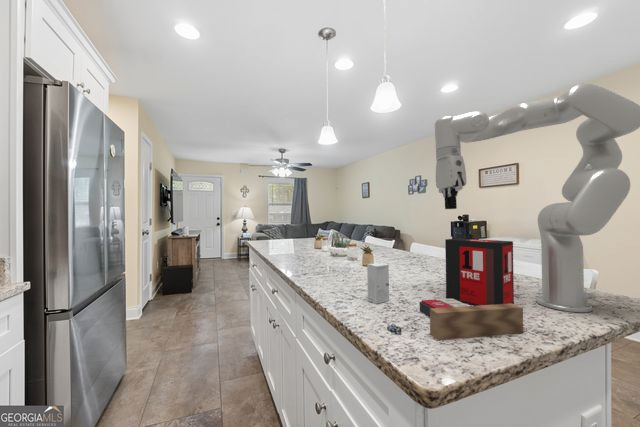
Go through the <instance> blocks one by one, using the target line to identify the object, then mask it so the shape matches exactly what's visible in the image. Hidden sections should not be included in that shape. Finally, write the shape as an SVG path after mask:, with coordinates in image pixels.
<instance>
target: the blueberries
mask: <svg viewBox="0 0 640 427" xmlns="http://www.w3.org/2000/svg"><path fill="white" fill-rule="evenodd" d="M386 330H387V331H388V332H390V333H393V334H394V335H397V336H401V335H402V327H401V326H397V325H396V324H395V323H392V324H389V325H388V326H387V328H386ZM406 330H407V331H406V332H407V333H408V332H409V331H408V330H409V329H408V328H406Z"/></svg>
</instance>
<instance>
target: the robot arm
mask: <svg viewBox="0 0 640 427" xmlns="http://www.w3.org/2000/svg"><path fill="white" fill-rule="evenodd" d="M582 116H584V117H586V118H587V119H585V120H584V121H582V122H581V123H580V124H579V125H578V127H577V128H576V134H575V136H576V139H577V141H578V143H579V144H580V146H581V148H582V152H583V153H582V157H581V159H580V160H579V162H578V163H577V165H576V167H575V168H574V169H573V171H572V172H571V174H570V175H569V176H568V178H567V179H566V181H565V182H564V184H563V185H562V189H561V194H562V197H563V198H564V199H565V200H566V201H567V202H557V203H552V204H548V205H546V206H544V207H543V208H542V209H541V210H540V211H539V213H538V215H537V226H538V231H539V235H540V242H541V243H540V244H541V245H540V246H541V254H540V255H541V294H542V295H538V296H537V297H535V302H537V304H539V305H541V306H544V307H547V308H550V309H554V310H559V311H565V312H570V313H571V312H573V313H589V312H592V310H593V306H592V305H591V304H590V303H587V300H594V299H596V298H597V296H596V294H595V293H594V292H586V291H585V278H584V277H585V275H584V274H585V270H584V269H585V268H584V245H583V242H582V240H581V237H582V236H583V237H584V236H591V235H594V234H597V233H598V232H600V231H601V230H602V229H604V227H606V226H607V224H608V223H609V221H610V220H611V219H612V217H613V216H614V215H615V214H616V212H617V210H618V209H619V208H620V206H621V205H622V204H623V203H624V202H625V200H626V199H627V197H628V195H629V193H630V190H631V179H630V177H629V175H628V174H627V173H626V171H623V170H622V169H619V167H620V166H621V164H622V161H623V153H622V150H621V148H620V146H619V143H617V142H618V141H616V139H617V138H620V137H623V136H626V135H629V134H631V133H633V132H635V131H637V130H639V129H640V104H638V103H637V102H635V101H633V100H631V99H629V98H626V97H624V96H622V95H621V94H618V93H615V92H613V91H612V90H609V89H606V88H605V87H602V86H599V85H597V84H593V83H585V82H584V83H579V84H576V85H573V86H572V87H570V88H568V89H566V91H564V92H563V93H562V94H560V95H559V94H558V95H556V96H552V97H546V98H541V99H536V100H531V101H526V102H521V103H518V104H517V103H516V104H515V105H513V106H511V107H508V108H506V109H505V110H503V111H501V112H500V113H497V114H494V115H492V116H489V115H488V114H487V113H486V112H484V111H481V110H476V111H475V110H474V111H469V112H466V113H463V114H459V115H446V116H443V117H440V118H438V119H437V120H435V122H434V139H435V140H434V142H435V157H436V158H435V161H436V164H435V186H436V189H438V193H440V194H442V196H443V198H444V209H445V210H457V209H458V206H457V197H458V194H459V192H460V191H462V190H463V187H465V186H466V185H467V171H466V164H465V161H464V158H463V156H462V150H461V149H462V148H461V143H465V144H468V143H476V142H481V141H486V140H490V139H494V138H497V137H499V138H500V137H502V136H507V135H510V134H515V133H518V132H523V131H528V130H532V129H539V128H545V127H549V126H550V127H551V126H557V125H561V124H566V123H569V122H571V121H574V120H576V119H578V118H579V117H582ZM580 236H581V237H580Z"/></svg>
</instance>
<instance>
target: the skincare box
mask: <svg viewBox="0 0 640 427" xmlns="http://www.w3.org/2000/svg"><path fill="white" fill-rule="evenodd" d="M366 268H367V271H366V272H367V273H366V274H367V276H366V278H367V301H368V302H370V303H372V304H374V305H375V304H376V305H377V304H382V303H386V302H389V301H390V284H389V283H390V281H389V280H390V274H389V270H390V269H389V264H388V263H383V262H376V263H367V267H366Z"/></svg>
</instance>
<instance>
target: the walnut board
mask: <svg viewBox="0 0 640 427" xmlns="http://www.w3.org/2000/svg"><path fill="white" fill-rule="evenodd" d="M523 333H524V307H522V306H520V305H517V304H515V303H514V304H512V303H511V304H495V305H479V306H472V305H470V306H463V307H447V308H431V309H430V317H429V334H430V335H431V336H432V337H433V338H435V340H437V341H440V340H442V341H443V340H453V339H465V338H467V339H469V338H480V337H489V336H502V335H503V336H504V335H514V334H523Z"/></svg>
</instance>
